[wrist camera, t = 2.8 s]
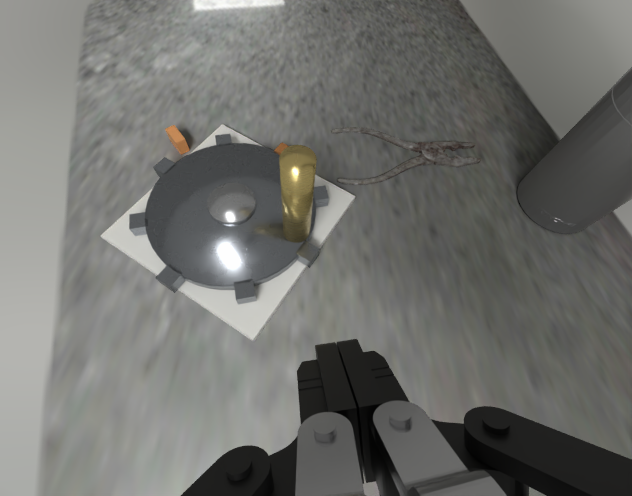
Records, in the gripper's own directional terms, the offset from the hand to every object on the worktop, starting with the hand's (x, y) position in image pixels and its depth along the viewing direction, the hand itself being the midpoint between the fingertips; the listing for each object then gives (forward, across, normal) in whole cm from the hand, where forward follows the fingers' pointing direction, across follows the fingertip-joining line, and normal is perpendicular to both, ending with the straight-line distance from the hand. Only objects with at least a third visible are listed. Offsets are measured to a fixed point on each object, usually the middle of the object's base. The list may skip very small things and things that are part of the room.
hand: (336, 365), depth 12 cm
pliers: (+35, -15, -9) cm, 39 cm away
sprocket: (+27, +7, -4) cm, 28 cm away
